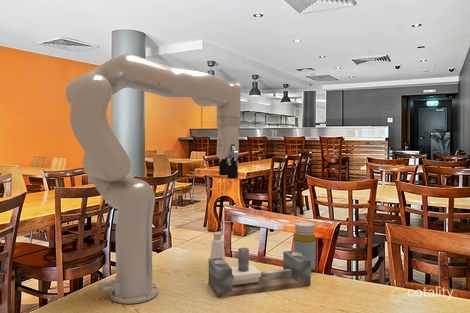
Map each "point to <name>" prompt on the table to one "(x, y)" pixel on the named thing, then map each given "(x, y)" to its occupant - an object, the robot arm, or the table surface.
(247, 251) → the carriage
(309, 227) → the bottle
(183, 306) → the table surface
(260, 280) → the rail track
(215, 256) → the pepper shaker
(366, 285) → the table surface
